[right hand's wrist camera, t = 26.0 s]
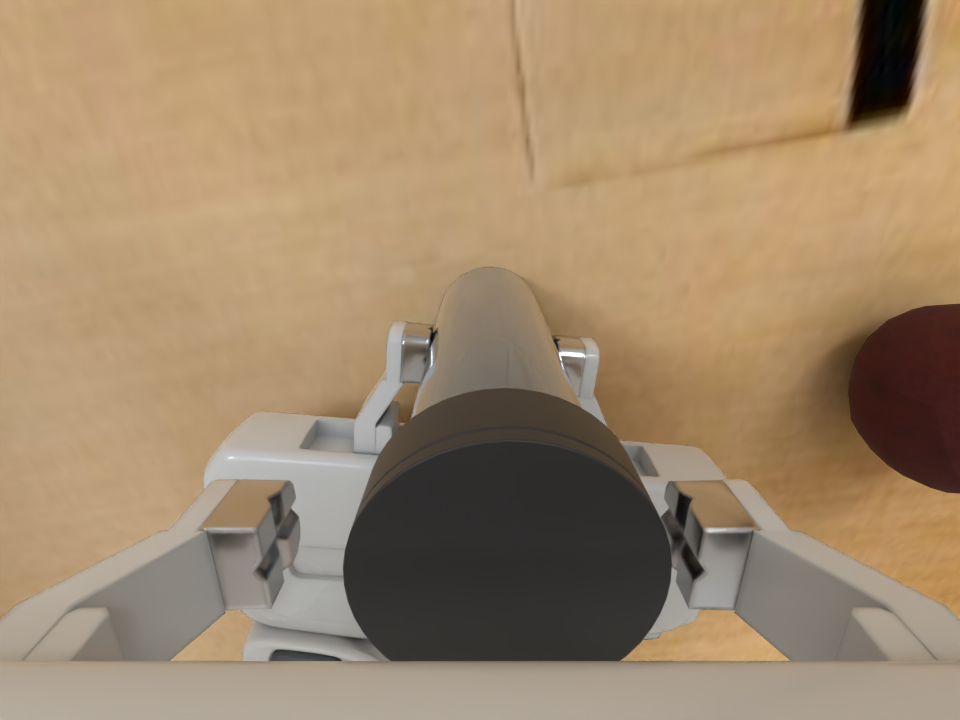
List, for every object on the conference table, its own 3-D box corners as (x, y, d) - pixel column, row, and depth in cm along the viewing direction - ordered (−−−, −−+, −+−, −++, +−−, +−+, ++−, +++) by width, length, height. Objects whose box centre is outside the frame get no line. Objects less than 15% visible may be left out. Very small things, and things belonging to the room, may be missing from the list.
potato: (850, 460, 26) (975, 561, 19) (783, 347, 24) (899, 417, 17) (996, 380, 24) (1187, 460, 18) (939, 250, 22) (1133, 286, 16)
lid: (311, 512, 10) (275, 587, 8) (502, 327, 9) (508, 368, 7) (501, 649, 12) (506, 739, 10) (693, 507, 10) (740, 581, 8)
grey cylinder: (420, 321, 24) (331, 556, 9) (483, 245, 22) (491, 384, 8) (494, 379, 25) (514, 669, 10) (559, 310, 23) (680, 533, 9)
